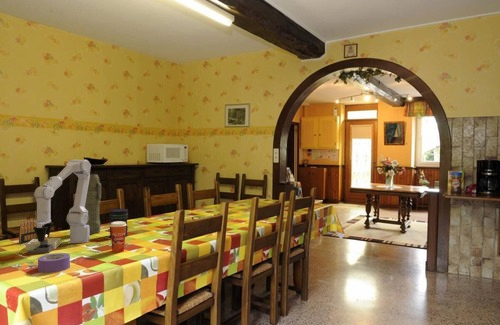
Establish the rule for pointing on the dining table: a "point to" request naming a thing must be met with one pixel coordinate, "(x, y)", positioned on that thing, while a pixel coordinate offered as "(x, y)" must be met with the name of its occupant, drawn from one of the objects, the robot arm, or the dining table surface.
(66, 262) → the tape roll
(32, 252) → the checker cradle
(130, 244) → the dining table surface
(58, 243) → the trough tray
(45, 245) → the battery cell
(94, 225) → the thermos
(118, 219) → the storage jar
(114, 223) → the paper cup
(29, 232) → the ammunition clip
